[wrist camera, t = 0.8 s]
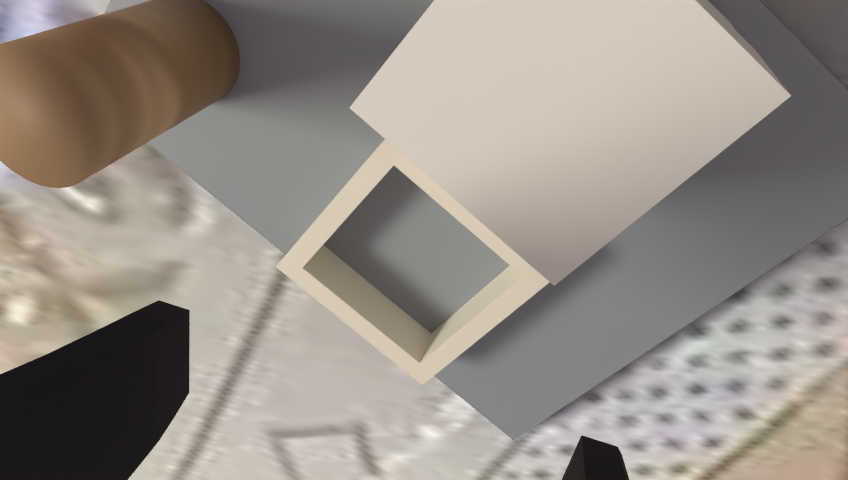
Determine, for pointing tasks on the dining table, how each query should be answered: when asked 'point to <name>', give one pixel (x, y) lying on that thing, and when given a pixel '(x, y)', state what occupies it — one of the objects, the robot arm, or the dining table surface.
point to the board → (471, 240)
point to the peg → (109, 86)
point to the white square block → (566, 111)
